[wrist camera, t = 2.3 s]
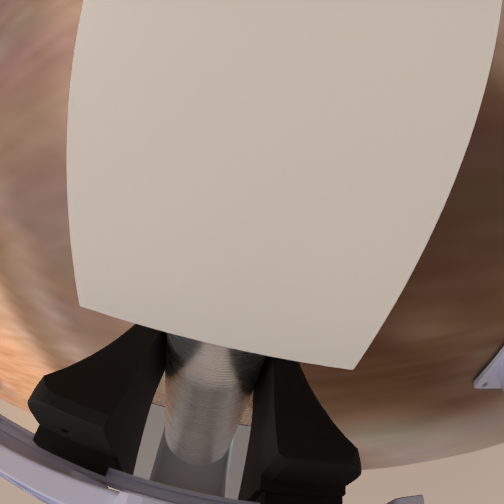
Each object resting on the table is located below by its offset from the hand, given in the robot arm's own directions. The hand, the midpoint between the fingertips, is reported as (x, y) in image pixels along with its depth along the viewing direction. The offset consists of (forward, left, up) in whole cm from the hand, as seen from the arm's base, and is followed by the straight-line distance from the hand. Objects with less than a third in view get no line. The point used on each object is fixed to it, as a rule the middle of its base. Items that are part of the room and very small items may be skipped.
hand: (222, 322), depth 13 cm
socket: (0, +14, -2) cm, 14 cm away
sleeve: (0, -9, -2) cm, 9 cm away
